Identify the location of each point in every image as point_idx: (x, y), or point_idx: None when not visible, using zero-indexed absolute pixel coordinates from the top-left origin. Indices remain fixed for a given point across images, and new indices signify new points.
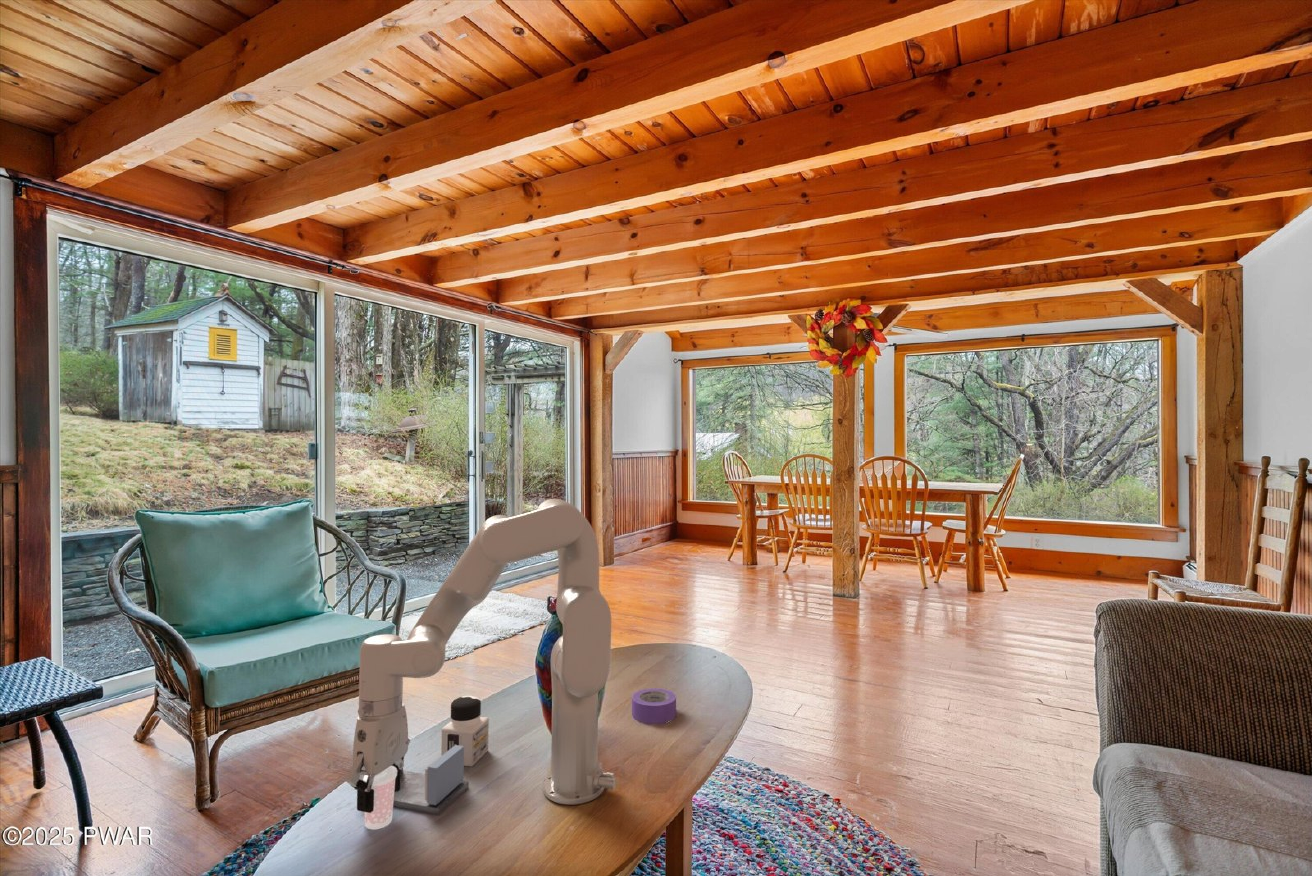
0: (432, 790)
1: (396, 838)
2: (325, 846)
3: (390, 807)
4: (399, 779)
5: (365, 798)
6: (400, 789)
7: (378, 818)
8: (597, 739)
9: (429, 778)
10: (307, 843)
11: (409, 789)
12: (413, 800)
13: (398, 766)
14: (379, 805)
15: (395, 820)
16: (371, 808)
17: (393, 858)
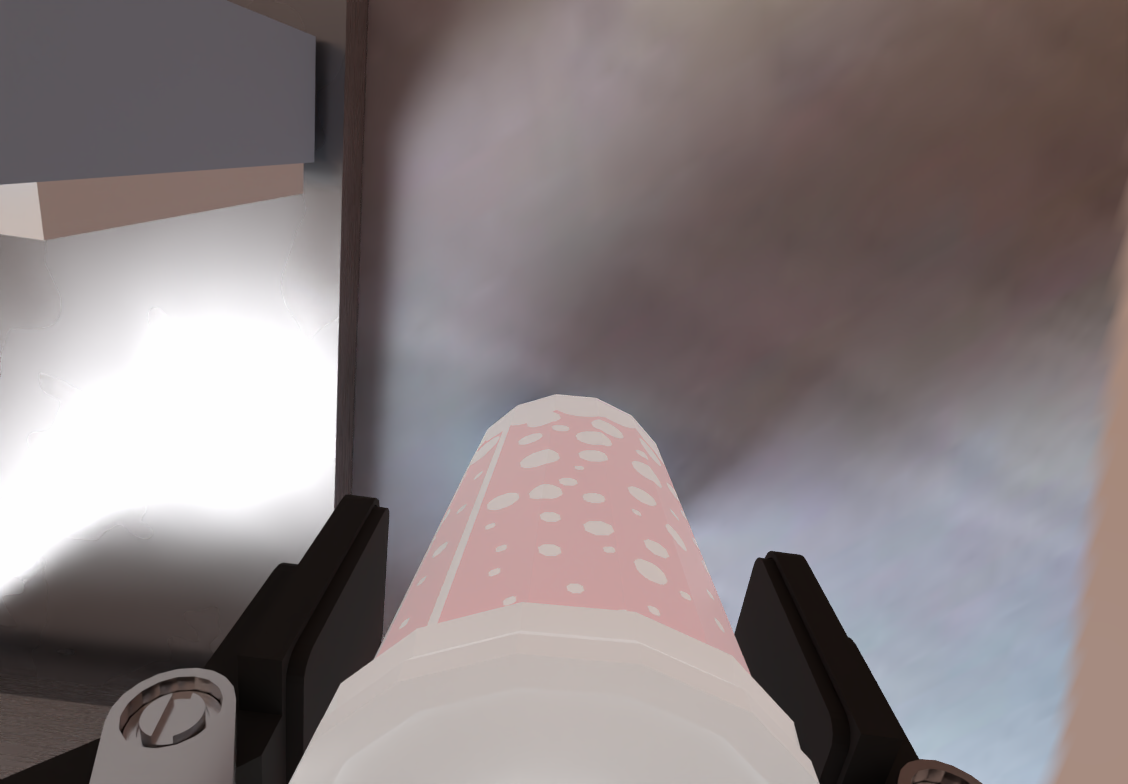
0: (240, 74)
1: (765, 224)
2: (873, 664)
3: (576, 445)
4: (316, 567)
5: (894, 720)
6: (172, 541)
7: (669, 479)
8: None
9: (148, 125)
10: None
11: (143, 468)
12: (289, 340)
13: (232, 728)
14: (690, 538)
15: (523, 371)
16: (812, 577)
17: (1052, 89)
